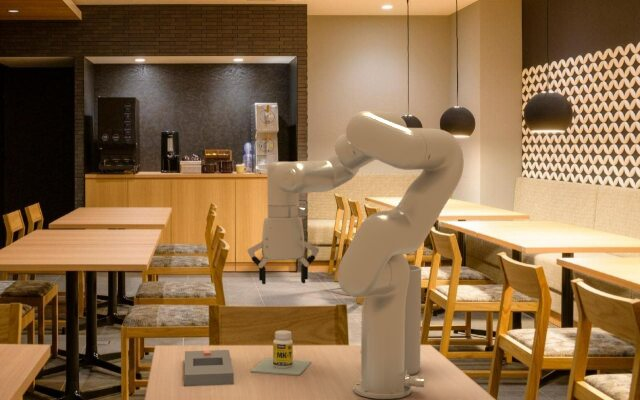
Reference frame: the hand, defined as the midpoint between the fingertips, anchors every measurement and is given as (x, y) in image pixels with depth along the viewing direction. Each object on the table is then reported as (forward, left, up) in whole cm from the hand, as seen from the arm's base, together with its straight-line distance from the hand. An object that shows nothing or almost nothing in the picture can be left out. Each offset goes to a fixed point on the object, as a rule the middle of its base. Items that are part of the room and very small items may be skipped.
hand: (283, 283), depth 206 cm
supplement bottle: (0, +1, -21) cm, 21 cm away
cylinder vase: (-27, -3, -21) cm, 34 cm away
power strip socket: (+16, +9, -21) cm, 28 cm away
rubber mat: (0, +1, -21) cm, 21 cm away
